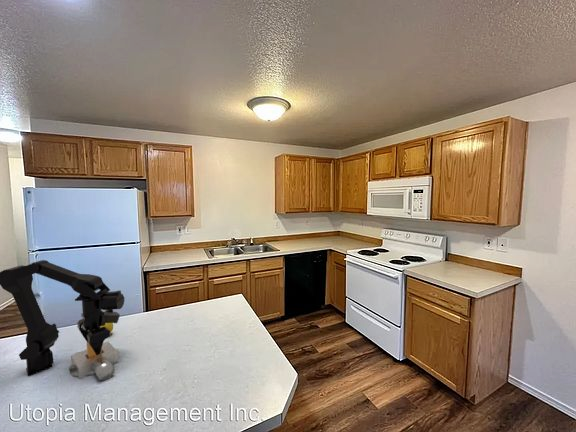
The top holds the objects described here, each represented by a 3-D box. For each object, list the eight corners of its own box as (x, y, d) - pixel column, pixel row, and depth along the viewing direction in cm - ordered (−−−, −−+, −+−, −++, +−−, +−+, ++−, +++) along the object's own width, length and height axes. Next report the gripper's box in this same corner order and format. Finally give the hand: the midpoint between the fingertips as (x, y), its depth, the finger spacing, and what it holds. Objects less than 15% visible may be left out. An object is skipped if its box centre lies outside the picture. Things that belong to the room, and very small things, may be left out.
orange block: (89, 365, 94) (88, 344, 94) (87, 362, 96) (86, 342, 95) (102, 359, 97) (101, 340, 97) (100, 357, 99) (99, 337, 98)
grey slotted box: (79, 392, 82) (78, 378, 82) (65, 365, 96) (64, 353, 95) (130, 368, 94) (130, 355, 93) (111, 347, 107) (111, 336, 107)
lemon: (101, 340, 112) (100, 323, 112) (97, 336, 116) (96, 319, 115) (115, 335, 117) (114, 318, 116) (111, 331, 120) (110, 315, 119)
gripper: (125, 309, 96) (127, 349, 97) (109, 297, 107) (111, 333, 108) (88, 320, 87) (91, 363, 88) (75, 306, 99) (78, 344, 100)
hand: (94, 349), depth 96 cm, fingers open, 9 cm apart
